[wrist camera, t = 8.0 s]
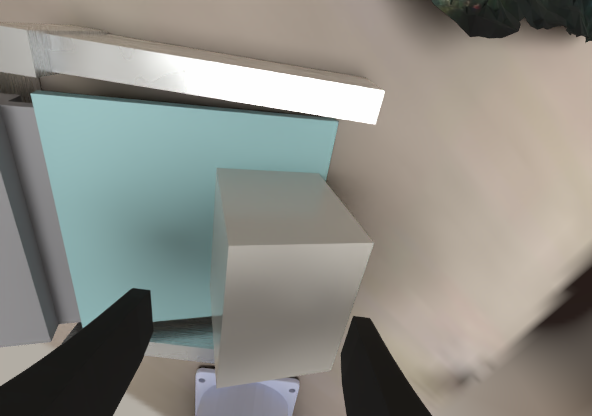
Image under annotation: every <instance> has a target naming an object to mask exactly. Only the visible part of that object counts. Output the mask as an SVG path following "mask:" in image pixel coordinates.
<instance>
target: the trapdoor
mask: <svg viewBox="0 0 592 416" xmlns="http://www.w3.org/2000/svg"><path fill="white" fill-rule="evenodd" d="M30 94H31V98H32V103H23V102H22V98H21V95H14V94H3V93H0V347H7V346H16V345H26V344H35V343H45V342H51V341H52V338H53V336H54V334H55V331H56V329H57V327H58V324H64V323H75V322H81V323H82V327H83V328H84V327H85V326H86V325H88V324H89V323H90V322H91V321H93V320H94V319H95V318H96V317H98V316H99V315H100V314H101V313H103V312H104V311H105V310H106V309H107V308H109V307H110V306H111V305H112V304H113V303H115V302H116V301H117V300H118V299H119V298H121V297H122V296H123V295H124V294H125V293H127V292H128V291H129V290H130V289H132V288H138V289H145V290H150V291H151V304H152V317H153V322H156V321H167V320H177V319H188V318H198V317H208V316H212V313H211V297H210V271H211V254H212V236H213V218H214V201H215V183H216V168H228V169H247V170H266V171H285V172H304V173H319V174H320V176H321V177H322V178H323V179H324V181H325V182H326V178H327V173H328V169H329V164H330V159H331V155H332V150H333V146H334V141H335V136H336V132H337V127H338V121H337V120H336V119H334V118H325V117H314V116H304V115H293V114H283V113H272V112H262V111H251V110H241V109H230V108H220V107H209V106H199V105H188V104H178V103H167V102H157V101H146V100H136V99H125V98H115V97H104V96H94V95H83V94H72V93H62V92H51V91H41V90H36V91H34V92H32V93H30Z"/></svg>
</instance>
